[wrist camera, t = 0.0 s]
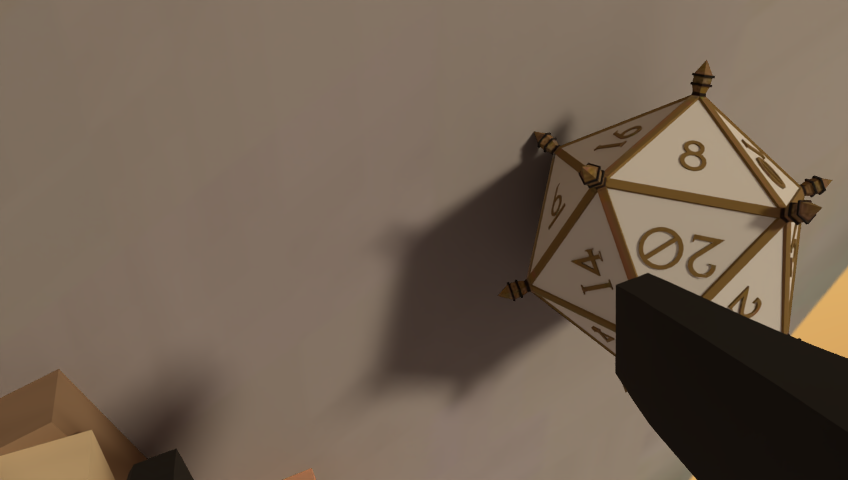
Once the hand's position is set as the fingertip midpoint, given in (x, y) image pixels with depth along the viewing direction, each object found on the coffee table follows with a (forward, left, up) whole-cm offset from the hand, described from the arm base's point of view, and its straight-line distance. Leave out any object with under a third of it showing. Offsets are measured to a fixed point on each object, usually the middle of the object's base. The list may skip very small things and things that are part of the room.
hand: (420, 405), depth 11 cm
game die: (-4, -9, -10) cm, 14 cm away
